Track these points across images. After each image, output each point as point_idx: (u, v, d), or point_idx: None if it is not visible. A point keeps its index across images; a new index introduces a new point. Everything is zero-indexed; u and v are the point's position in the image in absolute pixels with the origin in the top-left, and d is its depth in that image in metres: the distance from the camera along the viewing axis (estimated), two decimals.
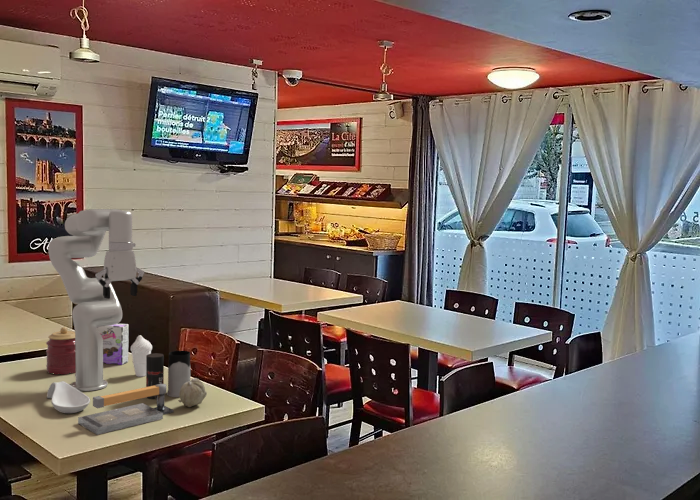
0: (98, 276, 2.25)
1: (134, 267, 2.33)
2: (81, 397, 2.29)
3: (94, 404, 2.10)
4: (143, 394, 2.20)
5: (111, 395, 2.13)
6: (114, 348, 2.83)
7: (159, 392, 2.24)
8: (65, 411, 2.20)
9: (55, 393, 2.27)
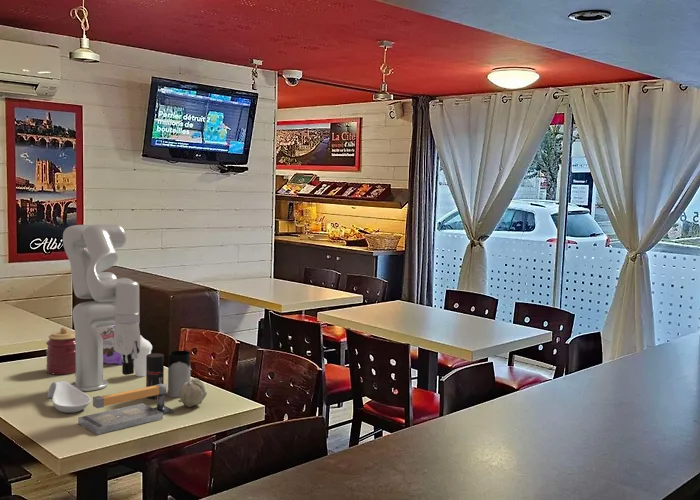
0: None
1: None
2: (81, 397, 2.30)
3: (94, 404, 2.10)
4: (143, 394, 2.20)
5: (111, 395, 2.13)
6: None
7: (159, 392, 2.24)
8: (66, 410, 2.21)
9: (56, 393, 2.27)
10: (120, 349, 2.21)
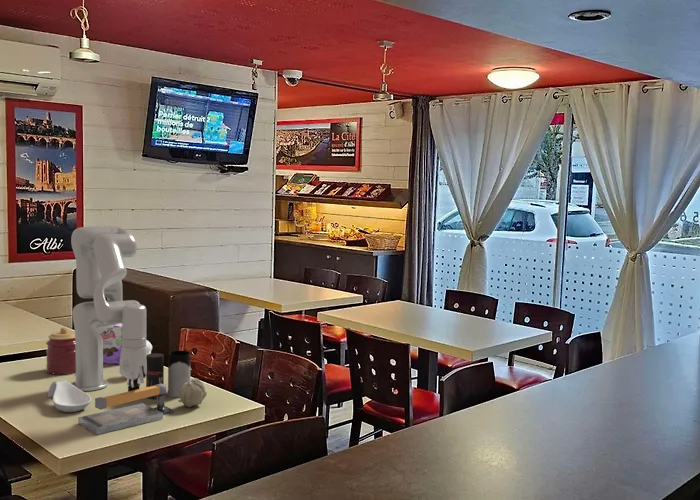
0: None
1: None
2: (82, 396, 2.31)
3: (96, 405, 2.09)
4: (144, 394, 2.20)
5: (113, 396, 2.12)
6: (114, 348, 2.83)
7: (159, 392, 2.24)
8: (66, 410, 2.21)
9: (56, 392, 2.28)
10: (126, 373, 2.19)
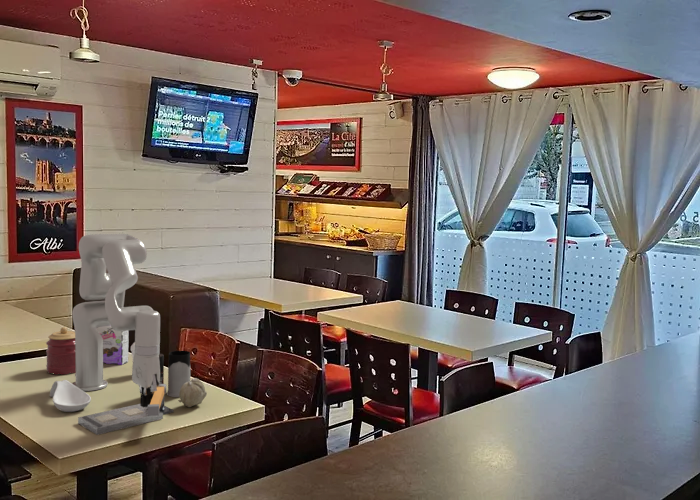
0: None
1: None
2: (82, 396, 2.31)
3: (151, 413, 2.04)
4: (162, 395, 2.19)
5: (154, 401, 2.09)
6: (114, 348, 2.83)
7: (164, 391, 2.25)
8: (65, 410, 2.22)
9: (57, 392, 2.28)
10: (139, 381, 2.13)
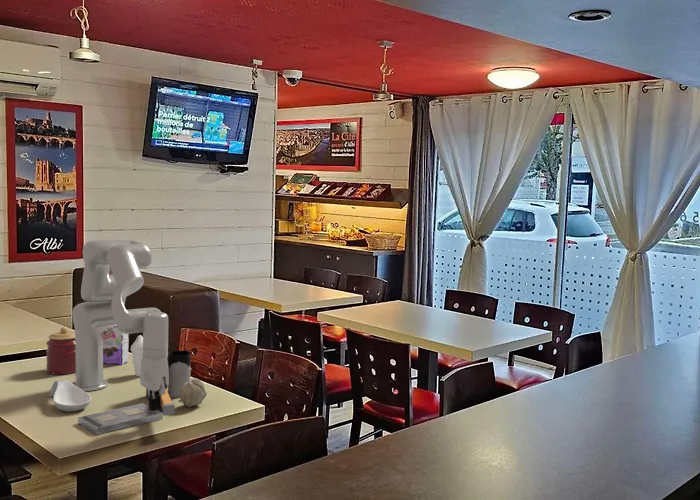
0: None
1: None
2: (82, 395, 2.31)
3: (167, 412, 2.05)
4: None
5: (166, 400, 2.10)
6: (114, 348, 2.83)
7: None
8: (66, 409, 2.22)
9: (57, 391, 2.29)
10: (147, 384, 2.10)
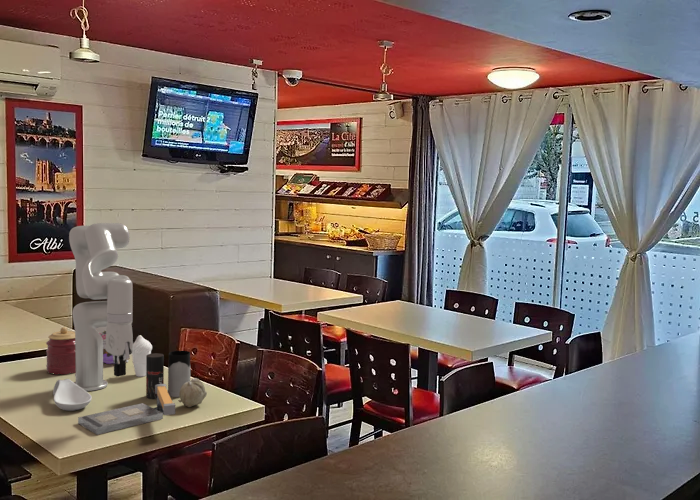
0: None
1: None
2: (83, 395, 2.32)
3: (167, 412, 2.05)
4: None
5: (167, 400, 2.10)
6: None
7: None
8: (66, 408, 2.23)
9: (58, 390, 2.30)
10: (112, 350, 2.12)
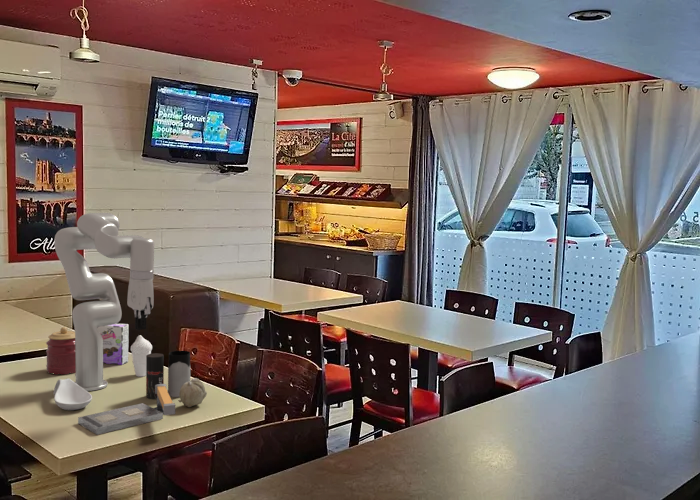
0: None
1: None
2: (84, 395, 2.32)
3: (167, 412, 2.05)
4: None
5: (167, 400, 2.10)
6: (114, 348, 2.83)
7: None
8: (66, 408, 2.23)
9: (59, 390, 2.30)
10: (133, 304, 2.25)
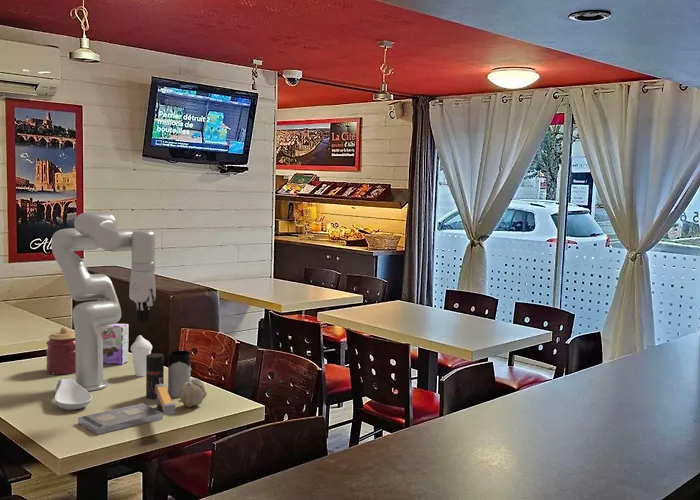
0: None
1: None
2: (84, 394, 2.32)
3: (167, 412, 2.05)
4: None
5: (167, 400, 2.10)
6: (114, 348, 2.83)
7: None
8: (66, 408, 2.23)
9: (59, 390, 2.31)
10: (136, 297, 2.27)
